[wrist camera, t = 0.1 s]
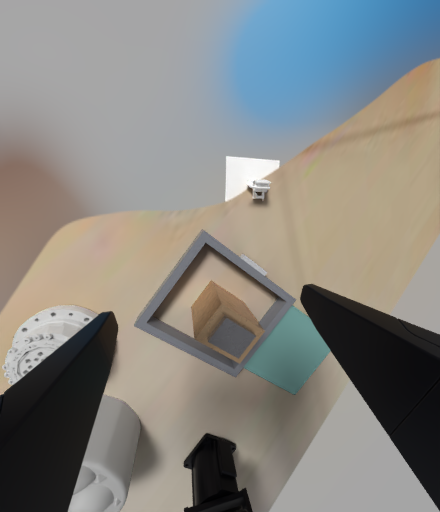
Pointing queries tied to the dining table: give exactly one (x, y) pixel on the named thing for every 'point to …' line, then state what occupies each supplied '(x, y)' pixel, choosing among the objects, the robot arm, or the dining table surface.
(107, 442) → the lumpy-topped squat cylinder
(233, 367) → the grey tapered frame
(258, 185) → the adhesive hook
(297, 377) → the service mat
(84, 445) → the robot arm
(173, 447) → the dining table surface
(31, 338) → the mechanical component
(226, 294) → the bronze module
